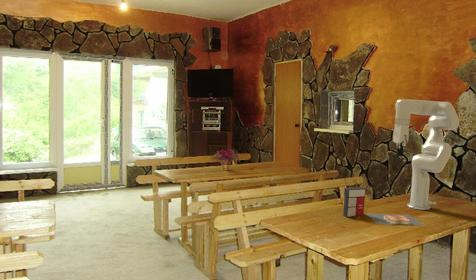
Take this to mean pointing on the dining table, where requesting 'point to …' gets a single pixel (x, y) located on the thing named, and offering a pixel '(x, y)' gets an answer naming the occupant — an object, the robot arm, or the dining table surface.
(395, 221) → the tile
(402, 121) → the robot arm
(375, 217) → the mat
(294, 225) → the dining table surface
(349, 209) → the grey and red box
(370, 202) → the dining table surface
